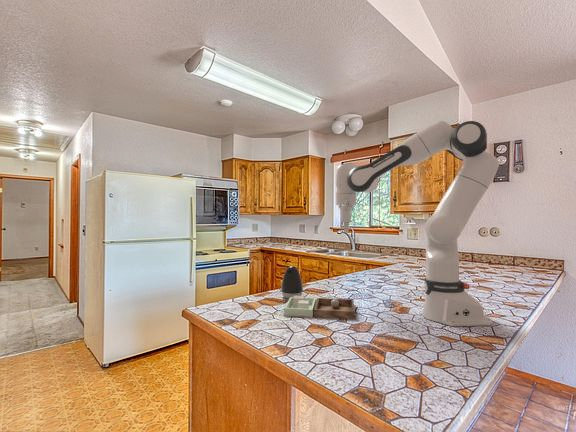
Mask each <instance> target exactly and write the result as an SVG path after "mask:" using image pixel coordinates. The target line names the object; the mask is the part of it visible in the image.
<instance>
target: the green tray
mask: <svg viewBox="0 0 576 432" xmlns="http://www.w3.org/2000/svg"><path fill="white" fill-rule="evenodd" d="M304 300H306V301H309V309H302V308H293V297H290V299H288V301H287V302H286V304H285V305H284V307H283V316H284V317H305V318H313V317H314V308H315V304H316V301H317V297H306V296H304Z"/></svg>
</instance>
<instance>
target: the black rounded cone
mask: <svg viewBox="0 0 576 432" xmlns="http://www.w3.org/2000/svg"><path fill="white" fill-rule="evenodd" d="M303 285H304V284H303V279H302V277H301V274H300V272H299V269H298V268H297V267H296V266H294V265H289V266H288V267H287V268H286V269H285V271H284V274H283V277H282V281H281V287H280V290H281V294H282V296H283V298H285V299H288V300H289V299H290V297H294V296H303V295H302V294H303V291H304V286H303Z"/></svg>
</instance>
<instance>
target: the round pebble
mask: <svg viewBox="0 0 576 432" xmlns="http://www.w3.org/2000/svg"><path fill="white" fill-rule="evenodd" d="M337 299H338V298H333V300H332V301H331V306H332V307H334V308H336V307H338V306H339V301H338V300H337Z"/></svg>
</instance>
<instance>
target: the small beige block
mask: <svg viewBox="0 0 576 432" xmlns="http://www.w3.org/2000/svg"><path fill="white" fill-rule="evenodd" d="M298 308H302V309H309V301H306V300H299V302H298Z"/></svg>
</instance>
